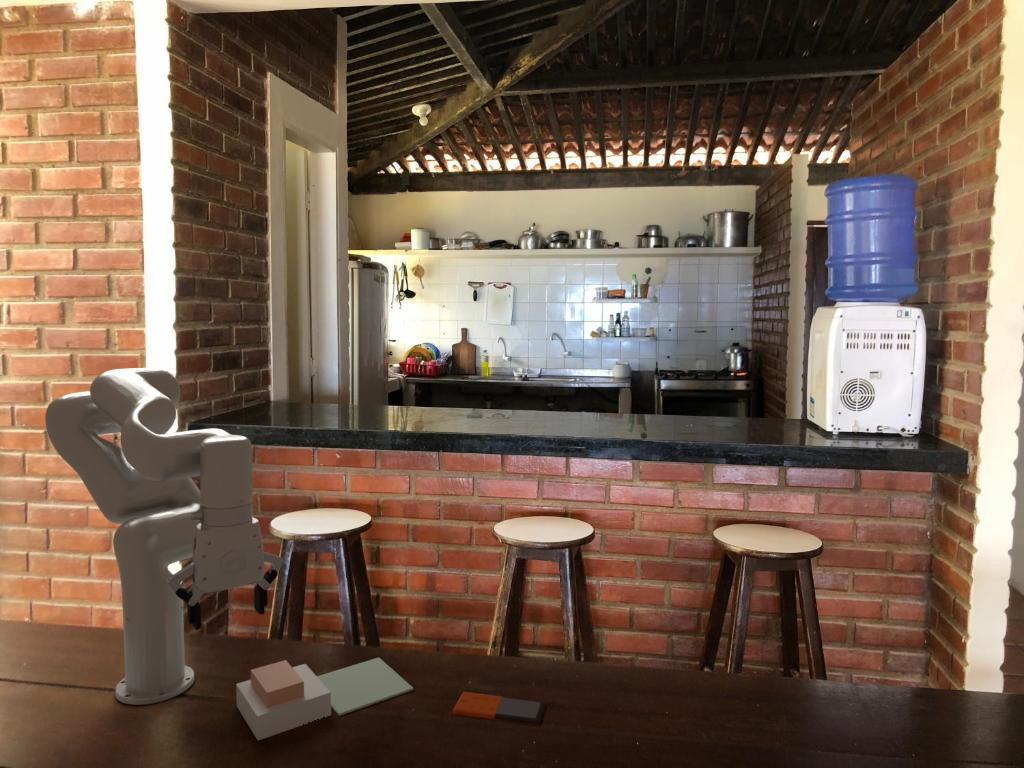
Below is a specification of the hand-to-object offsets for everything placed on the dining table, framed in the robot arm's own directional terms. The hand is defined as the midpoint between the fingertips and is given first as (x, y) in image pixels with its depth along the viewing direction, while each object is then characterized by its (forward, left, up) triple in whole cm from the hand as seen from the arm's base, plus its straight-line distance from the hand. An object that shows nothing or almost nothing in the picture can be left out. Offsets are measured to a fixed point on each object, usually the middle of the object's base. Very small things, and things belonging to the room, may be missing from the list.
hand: (228, 618), depth 108 cm
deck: (0, +8, -18) cm, 20 cm away
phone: (+21, +38, -19) cm, 48 cm away
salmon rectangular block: (0, +7, -14) cm, 16 cm away
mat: (0, +22, -18) cm, 29 cm away
